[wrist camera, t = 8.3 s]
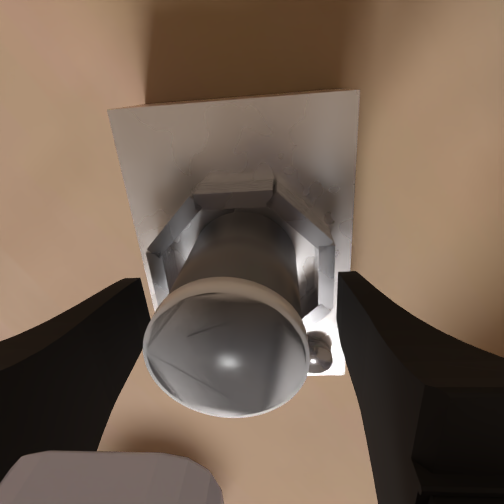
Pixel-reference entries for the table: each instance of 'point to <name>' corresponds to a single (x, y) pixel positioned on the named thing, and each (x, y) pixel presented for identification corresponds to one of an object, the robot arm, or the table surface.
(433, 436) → the robot arm
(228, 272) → the cup
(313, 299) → the square base socket
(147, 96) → the table surface
